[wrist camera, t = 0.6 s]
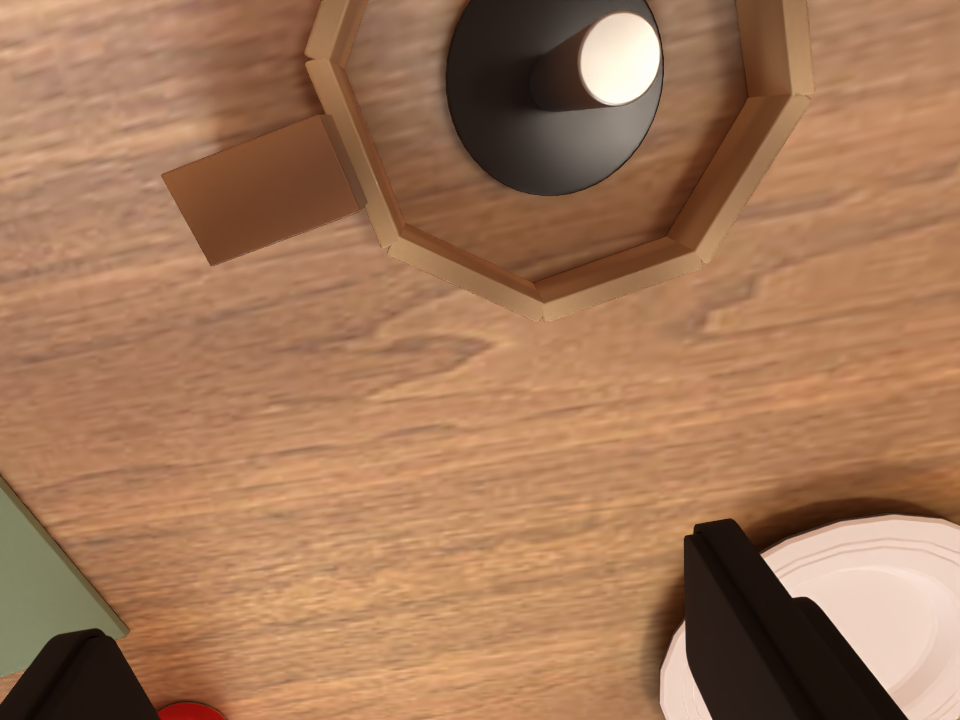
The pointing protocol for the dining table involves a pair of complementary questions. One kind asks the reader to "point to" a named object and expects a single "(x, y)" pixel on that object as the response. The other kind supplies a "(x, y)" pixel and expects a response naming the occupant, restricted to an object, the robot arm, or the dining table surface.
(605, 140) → the post stand
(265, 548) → the dining table surface
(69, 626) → the mat
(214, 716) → the beverage can
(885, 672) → the plate
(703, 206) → the hoop
